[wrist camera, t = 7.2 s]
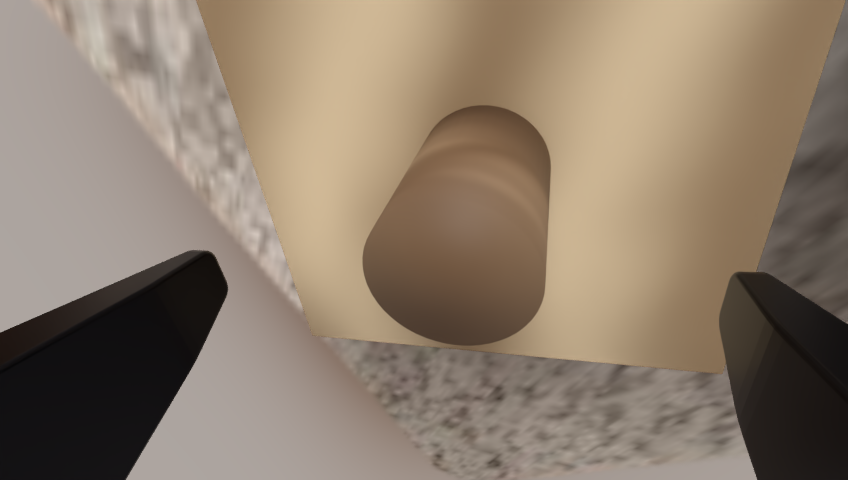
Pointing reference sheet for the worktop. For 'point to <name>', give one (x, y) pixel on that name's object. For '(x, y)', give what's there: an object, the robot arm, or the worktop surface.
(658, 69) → the lid
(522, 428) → the worktop surface
